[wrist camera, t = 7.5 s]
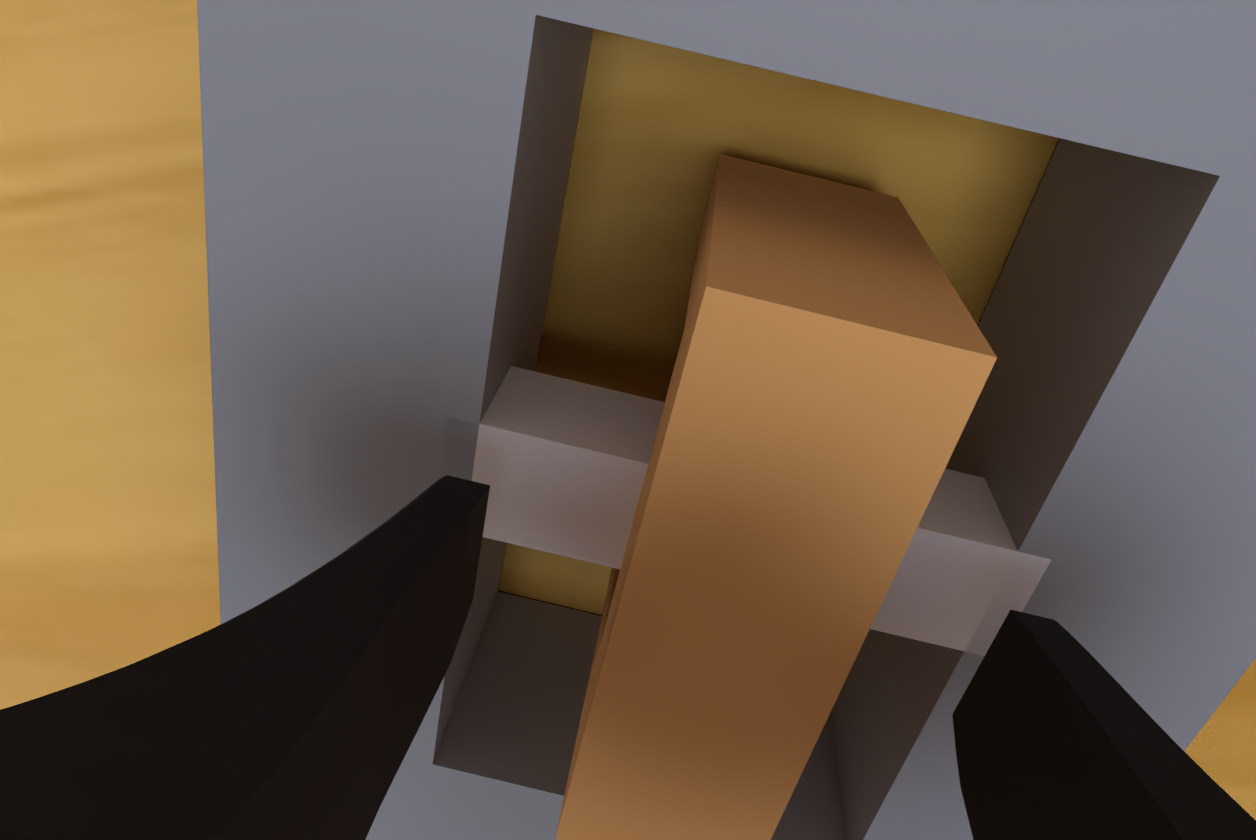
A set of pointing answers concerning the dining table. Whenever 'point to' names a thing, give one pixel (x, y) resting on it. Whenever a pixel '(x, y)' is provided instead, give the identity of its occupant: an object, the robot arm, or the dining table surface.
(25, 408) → the dining table surface
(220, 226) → the grey rectangular frame
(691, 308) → the toy arch block
